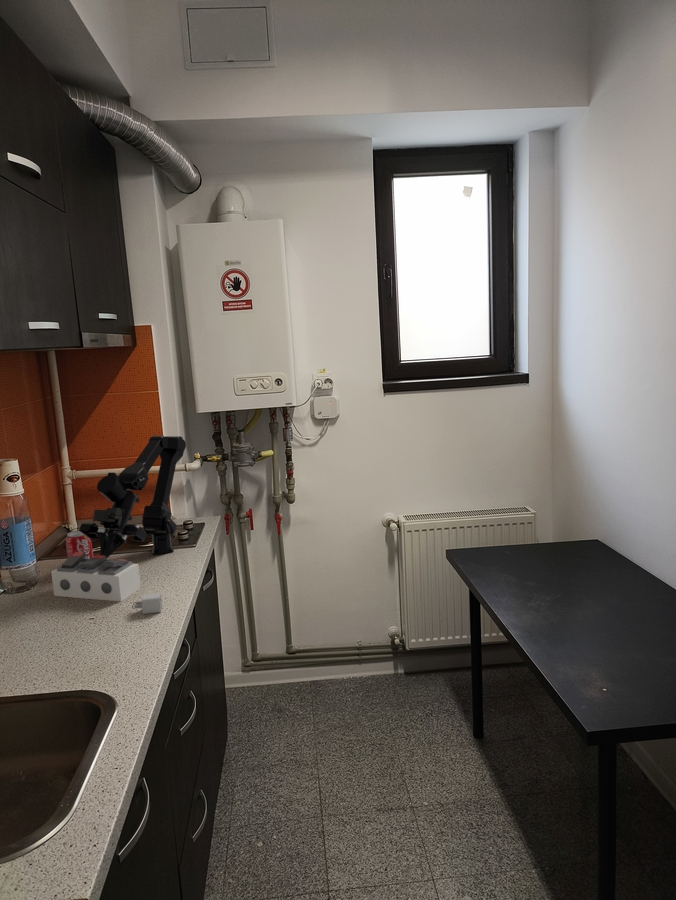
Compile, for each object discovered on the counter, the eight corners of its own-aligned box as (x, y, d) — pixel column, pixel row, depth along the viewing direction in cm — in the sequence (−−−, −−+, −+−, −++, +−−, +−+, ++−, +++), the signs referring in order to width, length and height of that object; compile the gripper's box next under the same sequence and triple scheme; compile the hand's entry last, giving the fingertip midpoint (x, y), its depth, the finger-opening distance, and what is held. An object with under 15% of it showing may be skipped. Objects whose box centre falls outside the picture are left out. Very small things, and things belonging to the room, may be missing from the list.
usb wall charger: (160, 613, 151) (159, 598, 151) (132, 616, 150) (130, 601, 150) (162, 606, 155) (160, 591, 155) (134, 609, 154) (132, 594, 153)
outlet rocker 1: (76, 555, 170) (75, 551, 169) (86, 556, 169) (85, 552, 168) (63, 568, 165) (61, 564, 164) (72, 569, 164) (71, 565, 163)
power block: (76, 582, 173) (73, 556, 172) (140, 587, 168) (138, 561, 166) (53, 596, 165) (50, 568, 163) (120, 601, 159) (117, 573, 158)
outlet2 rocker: (96, 559, 168) (96, 554, 168) (106, 559, 167) (106, 555, 167) (82, 567, 162) (81, 563, 162) (92, 568, 162) (92, 564, 161)
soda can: (99, 566, 186) (94, 529, 183) (87, 575, 179) (82, 536, 177) (77, 566, 186) (72, 529, 184) (64, 575, 179) (59, 536, 177)
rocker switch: (116, 563, 166) (116, 559, 166) (126, 564, 165) (127, 559, 166) (102, 566, 160) (103, 561, 161) (113, 566, 160) (113, 561, 160)
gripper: (78, 495, 172) (56, 546, 164) (135, 497, 167) (116, 549, 159) (99, 513, 181) (80, 562, 173) (154, 515, 176) (137, 566, 168)
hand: (102, 559), depth 168 cm, fingers closed, pressing on outlet2 rocker, power block
